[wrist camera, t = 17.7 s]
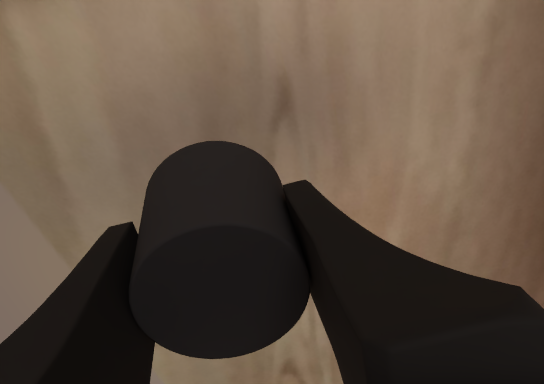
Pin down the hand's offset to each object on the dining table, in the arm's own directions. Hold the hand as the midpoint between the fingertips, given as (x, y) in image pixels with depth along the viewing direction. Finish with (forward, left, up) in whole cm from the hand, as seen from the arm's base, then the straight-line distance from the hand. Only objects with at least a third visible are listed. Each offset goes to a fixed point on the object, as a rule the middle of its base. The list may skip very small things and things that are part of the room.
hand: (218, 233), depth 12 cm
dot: (0, 0, -2) cm, 2 cm away
